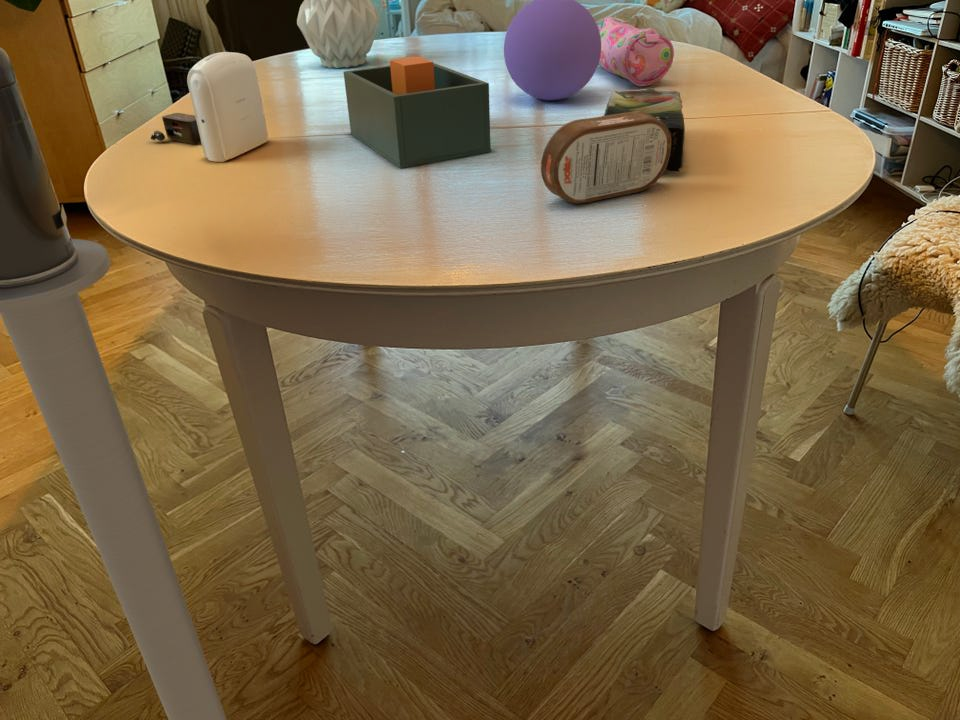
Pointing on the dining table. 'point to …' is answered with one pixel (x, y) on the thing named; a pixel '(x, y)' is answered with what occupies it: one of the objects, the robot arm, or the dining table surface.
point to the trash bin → (419, 116)
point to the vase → (339, 30)
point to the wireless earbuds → (179, 128)
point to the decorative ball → (552, 48)
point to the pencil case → (634, 51)
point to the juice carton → (654, 114)
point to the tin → (605, 156)
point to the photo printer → (227, 105)
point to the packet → (411, 75)
